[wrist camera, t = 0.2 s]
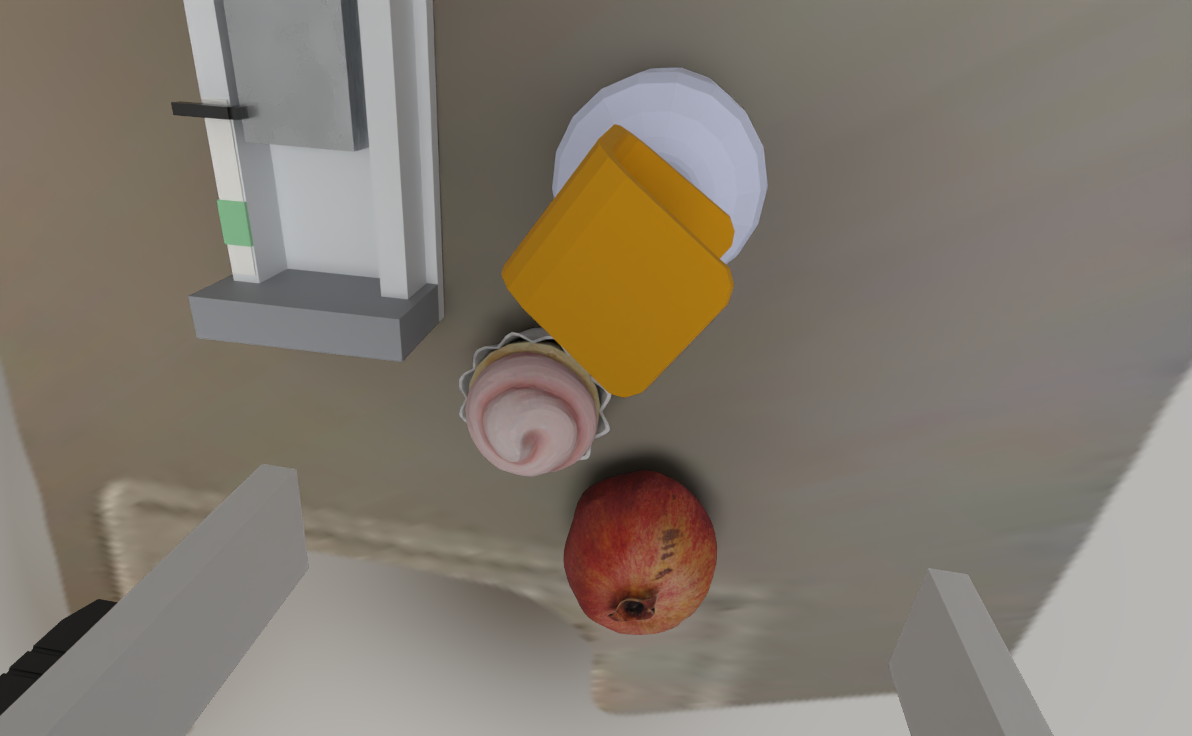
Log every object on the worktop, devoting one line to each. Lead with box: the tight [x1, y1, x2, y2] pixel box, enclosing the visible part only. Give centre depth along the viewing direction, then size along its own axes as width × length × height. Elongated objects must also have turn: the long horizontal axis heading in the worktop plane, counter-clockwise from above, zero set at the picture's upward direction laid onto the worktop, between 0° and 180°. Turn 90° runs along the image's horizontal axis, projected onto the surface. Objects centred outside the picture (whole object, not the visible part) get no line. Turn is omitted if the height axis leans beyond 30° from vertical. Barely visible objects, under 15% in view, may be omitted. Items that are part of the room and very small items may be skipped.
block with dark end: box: [171, 0, 369, 152], centre depth 32 cm, size 13×9×6 cm
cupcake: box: [459, 327, 611, 476], centre depth 39 cm, size 9×9×10 cm
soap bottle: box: [502, 67, 768, 398], centre depth 26 cm, size 9×9×25 cm
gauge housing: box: [183, 0, 444, 362], centre depth 35 cm, size 24×12×7 cm, turn 176°
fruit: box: [564, 470, 717, 635], centre depth 43 cm, size 11×10×10 cm
